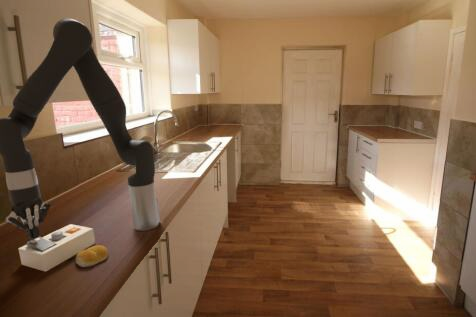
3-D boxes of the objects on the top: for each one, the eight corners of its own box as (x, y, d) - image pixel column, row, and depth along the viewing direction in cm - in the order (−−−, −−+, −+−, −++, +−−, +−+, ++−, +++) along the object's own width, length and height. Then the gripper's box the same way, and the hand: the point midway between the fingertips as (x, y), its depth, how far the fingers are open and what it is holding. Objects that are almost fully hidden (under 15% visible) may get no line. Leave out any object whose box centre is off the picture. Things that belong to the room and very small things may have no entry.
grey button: (59, 237, 102) (58, 230, 101) (66, 238, 101) (64, 232, 100) (50, 241, 99) (48, 235, 98) (57, 243, 98) (55, 236, 97)
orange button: (74, 233, 107) (73, 227, 106) (81, 235, 106) (80, 228, 105) (66, 237, 104) (65, 231, 104) (72, 239, 103) (71, 232, 102)
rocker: (39, 239, 98) (39, 236, 97) (55, 247, 95) (55, 243, 95) (27, 245, 94) (26, 242, 94) (42, 254, 92) (42, 250, 91)
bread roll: (113, 256, 98) (111, 245, 97) (85, 270, 91) (83, 258, 90) (99, 249, 102) (97, 238, 102) (71, 262, 95) (69, 250, 94)
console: (73, 238, 111) (70, 224, 110) (95, 243, 107) (92, 228, 105) (21, 264, 95) (18, 248, 94) (45, 271, 91) (42, 254, 89)
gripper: (36, 177, 99) (46, 227, 102) (-10, 190, 87) (3, 246, 91) (52, 179, 96) (62, 230, 99) (7, 192, 84) (19, 250, 88)
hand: (34, 238), depth 95 cm, fingers closed
